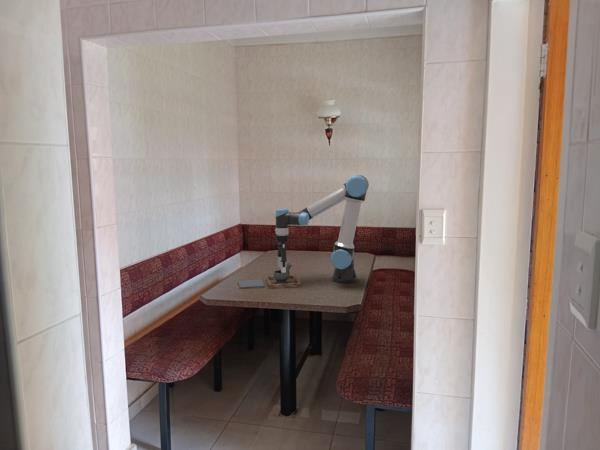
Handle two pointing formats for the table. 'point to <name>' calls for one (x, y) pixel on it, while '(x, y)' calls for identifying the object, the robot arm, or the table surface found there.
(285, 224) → the robot arm
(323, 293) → the table surface
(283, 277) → the mortar and pestle
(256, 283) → the rubber mat
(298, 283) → the frame
